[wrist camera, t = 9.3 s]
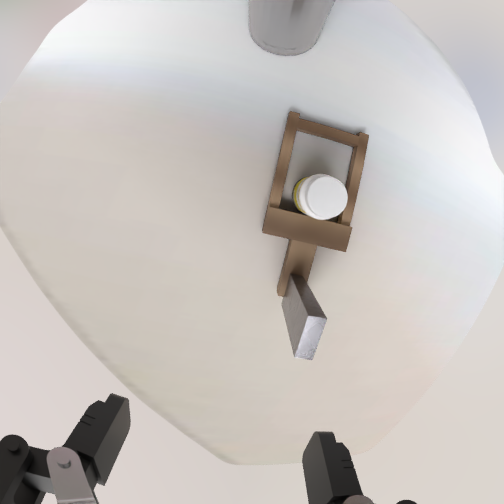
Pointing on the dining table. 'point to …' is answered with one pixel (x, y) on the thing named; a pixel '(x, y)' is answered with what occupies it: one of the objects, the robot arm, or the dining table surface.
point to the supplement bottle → (320, 196)
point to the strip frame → (309, 235)
